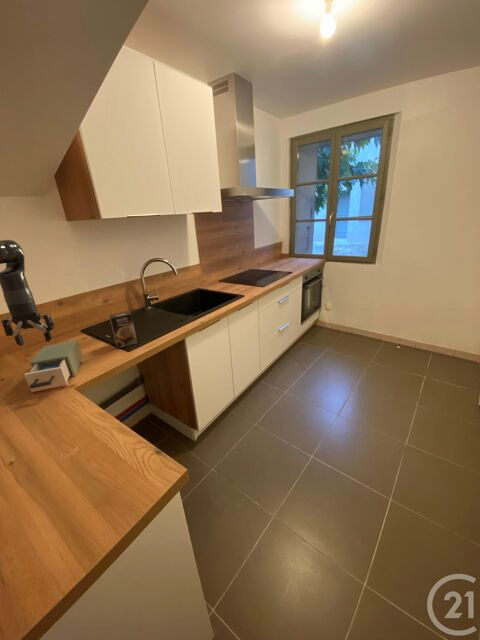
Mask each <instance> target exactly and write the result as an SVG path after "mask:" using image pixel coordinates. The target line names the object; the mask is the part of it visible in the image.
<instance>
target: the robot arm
mask: <svg viewBox="0 0 480 640" xmlns="http://www.w3.org/2000/svg"><path fill="white" fill-rule="evenodd" d="M3 264H5V268H4V269H3V270H1V271H0V288H1V290H2V294H3V299H4V302H5V303H6V306H7V309H8V312H9V314H10V316H11V317H10V318H9V317H5V318H3V319H2V320H1V324H2V327H3V330H4V333H5V336H6V337H9V336H10V337H13V338H14V340H15V343H16V345H18V346H19V347H21V346H23V345H25V341H24V338H23V336H22V334H20V333H21V332H22V330H28V329H34V328H36V329H37V330H40V331H41V332H43V337H44V339H45V342H46V343H49V342H51V340H52V338H53V337H52V334H51V331H52V330H54V328H55V324H54V322H53V319H52V316H51V314H50V313H49V312H46V313H45V314H40V313H39V310H38V307H37V304H36V302H35V297H34V295H33V292H32V290H31V288H30V286H29V283H28V280H27V277H26V273H25V271H26V268H25V267H26V265H25V264H26V263H25V253H24V250H23V248H22V246H21V245H20V244H19V243H18V242H16V241H15V240H12V239H2V240H0V265H3ZM41 320H42V321H44V322H45V323H44V322H42V321H41ZM12 324H14V325H16V326H15V329H13V326H12Z"/></svg>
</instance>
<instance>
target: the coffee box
mask: <svg viewBox="0 0 480 640" xmlns="http://www.w3.org/2000/svg"><path fill="white" fill-rule="evenodd" d="M108 316H109V320H110V326H111V329H112V333H113V338H114V341H115V346H116V348H117V349H120V348H121V349H122V348H124V347H129V346H131V345H135V344H138V339H137V334H136V330H135V326H134V320H133V316H132V313H131V312H130V311H129V310H127V311H123V312H117V313H112V314H108Z"/></svg>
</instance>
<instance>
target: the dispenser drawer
mask: <svg viewBox="0 0 480 640" xmlns="http://www.w3.org/2000/svg"><path fill="white" fill-rule="evenodd" d="M55 365H58V367H57V368H51V369H46V370H43V369H44V368H45V367H49V366H55ZM70 374H71V370H70V367H69V364H68V361H67V358H65V359H59V360H53V361H48V362H42V363H36V364H35V365H34V367H33V368H32V367H31V369H30V370H29V372H25V373H24V375H23V376H24V379H25V381H26V383H27V385H28V387H29V390H30V393H34V392H39V391H43V390H44V391H45V390H49V389H55V388H59V387H63V386H68V384H69V382H68V379H69V378H70V377H69V376H70Z"/></svg>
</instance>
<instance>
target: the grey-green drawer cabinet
mask: <svg viewBox="0 0 480 640" xmlns="http://www.w3.org/2000/svg"><path fill="white" fill-rule="evenodd" d="M65 358H67V361H68V364H69V367H70V370H71V374H70V376H69V378H72V377H76V375H77V373H78V371H79V369H80V367H81V365H82V363H83V361H82V360H83V358H84V355H83V353H82V350H81V346H80V343H79V340H74V341H67V342H62V343H55V344H49V345H44V346H43V347H42V348H41V350H40V351H39V352H38V353H37V354H36V355H35V357H33V359H32V360H31V361H30V362H29V363H30V366H31V369H32V368H33V367H34V365H35V364H36V363H42V362H48V361H53V360H59V359H65Z"/></svg>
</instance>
